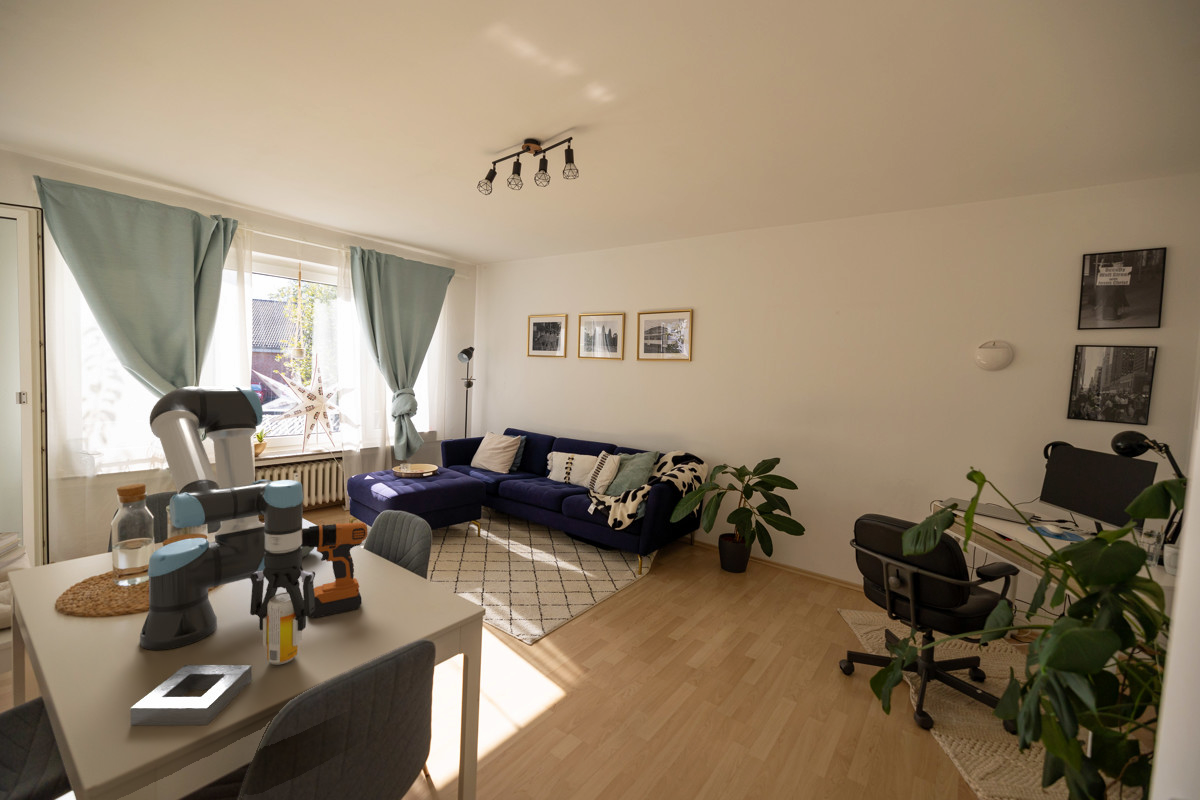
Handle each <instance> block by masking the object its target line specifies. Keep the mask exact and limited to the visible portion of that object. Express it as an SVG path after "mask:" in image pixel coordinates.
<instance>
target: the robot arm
mask: <svg viewBox="0 0 1200 800" xmlns="http://www.w3.org/2000/svg"><path fill="white" fill-rule="evenodd" d="M263 415H264V413H263V406H262V402H261V399H260V397H259V395H258V392H256V390H254V389H253V388H251V387H249V386H236V385H231V386H229V385H228V386H225V385H223V386H184V387H179V388H177V389H174V390H171V391H169V392H168V393H166V394H165V395H163V396H162V397H161V398H159V400H157V402H156V403H155V404H154V406H153V407H152V409H151V412H150V415H149V425H150V426H149V427H150V430H151V432H152V434H153V435H154V436H155V437H157V438H158V439H159V441H160V444H161V446H162V450H163V453H164V456H165V459H166V462H167V465H168V468H169V472H170V474H171V478H172V481H173V483H174V486H175V490H176V494H174V495H172V497H170V499H169V516H170V522H171V524H172V526H173V527H175V528H176V529H177V528H178V529H180V528H181V529H182V528H191V527H200V526H203V525H210V524H215V523H220V528H219V529H218V530H217V531H216V532H215V533H214V541H212V542H209V541H208V539H207V538H205V537H195V538H186V539H181V540H178V541H173V542H171V543H169V544H165V545H163V546H161V547H160V548H158V549H156V550H155V551H154V552H153V553H152V554H151V555H150V557H149V560H148V567H147V568H148V569H147V576H148V605H149V606H148V614H147V615H146V618H145V621H144V623H143V626H142V627H141V631H140V635H139V644H140V646H141V647H142V648H143V649H145V650H151V651H161V650H170V649H176V648H180V647H184V646H187V645H190V644H193V643H196V642H198V641H201V640H202V639H205V638H206V637H208V636H209V635H211V634H213V632H215V630H216V629H217V627H218V619H217V618H218V617H217V614H216V613H215V611H214V608H213V607H212V603H211V601H210V599H209V589H211V588H215V587H219V586H220V587H221V586H223V585H224V586H225V585H227V584H230V583H231V584H233V583H235V582H241V581H243V580H247V579H250V581H251V584H252V585H251V597H250V607H249V608H250V610H249V611H250V612H249V614H250V616H258V619H259V620H258V621H259V626H258V627H259V628H258V629H259V630H260V631H262V646H265V647H266V646H267V606H268V603H269V601H270V599H271V598H272V597H274V595H276V594H277V591H278V589H279V588H283V589H285V592H288V593H289V595H290V599H291V602H292V605H293V608H294V611H295V614H296V617H295V618H294V619H293V646H297V645H299V644H300V642H301V641H303V631H304V629H305V628H306V626H307V617H310V616H309V615H310V614H311V613H312V612H313V611H314V610H315V602H314V588H315V587H314V585H315V584H314V580H315V577H316V572H315V571H309V572H308V571H305V570H304V568H303V567H302V563H303V562H302V561H303V558H302V547H301V546H300V545H301V544H302V528H303V514H304V513H303V504H304V503H303V502H304V492H303V490H304V489H303V484H302V483H301V481H298V480H293V479H280V480H275V481H274V480H270V479H258V480H256V479H255V477H256V476H255V469H254V467H255V466H254V459H253V447H252V436H253V435H254V434H255V433H256V432H257V426H260V425H262V422H263V419H264V418H263ZM200 429H203V430H204V429H205V436H206V437H207V438H209V439H210V440H211V441H213V450H214V452H213V453H214V461H215V473H216V474H215V473H214V470H213V468H212V464H211V461H210V460H209V457H208V454H207V451H206V448H205V447H204V444H203V441H202V438H201V436H200V434H199V431H198V430H200ZM259 516H263V517H264V519H263V520H264V523H263V522H262V521H260V519H259ZM300 578H301V582H302V592H301V589H300V584H301V583H300V581H299V579H300ZM265 579H266V580H267V582H268V583H267V587H266V590H265V591H266V592H265V594H264V587H265V585H264V583H265ZM302 594H303V595H302ZM263 595H264V598H263ZM297 647H298V646H297Z"/></svg>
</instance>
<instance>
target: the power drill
mask: <svg viewBox="0 0 1200 800" xmlns="http://www.w3.org/2000/svg"><path fill="white" fill-rule="evenodd" d="M304 528H305V529H302V544H301V545H300V546H301V547H306V546H309V547H314V548H316V552H317V553H320V554H321V555H322V557H321V558H320V559H321V561H322V562H324V561H326V562H327V563H328V562H331V563H332V571H333V574H334V575H333V576H334V579H335V580H334V581H333V582H328V583H323V584H322V585H319V586H315V587H314V602H315V610H314V611H313V612H312V613H311V614H310V615H309V616H308V617H312V618H314V619H316V618H319V617H325V616H330V615H335V614H339V613H344V612H347V611H348V612H349V611H352V610H357V609H359V608H360V607H361V605H362V595H361V593H360V585H359V582H358V579H357V578H354V576H355V574H354V572H355V568H354V567H355V565H354V560H353V557H352V554H351V549H353V548H355V547H358V546H360V545H361V544H362V543H363V541H365V540H366V539H367V536H368V526H367V524H366V522H363V521H362V522H361V521H360V522H350V523H349V522H348V523H334V524H319V525H312V526H309V527H304Z"/></svg>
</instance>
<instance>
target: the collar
mask: <svg viewBox="0 0 1200 800" xmlns="http://www.w3.org/2000/svg"><path fill="white" fill-rule="evenodd" d="M252 672H253V668H252V665H251V664H250V665H249V664H248V665H247V664H245V665H244V664H242V665H241V664H240V665H239V664H236V665H235V664H226V665H225V664H185V665H183V666H182V667H181V668H180V669H178V670H177V671H176V672H175V673H173V674H172V675H170V677H168V678H167V679H166V680H165V681H163V682H162V683H160V684H159V685H158V686H157V687H155V688H154V689H153V690H152V691H150V692H149V693H148V694H147V695H145V696H144V697H143V698H142V699H140V700H139V701H138V702H136V703H134V705H133V706H131V707H130V726H207V725H209V724H210V723H211V721H212V720H213V719H215V717H217V716H218V715H219V713H220V712H222V711H223V710H224V708H226V707H227V706H228V705H229V703H231V701H233V700H234V698H236V697H237V696H238V694H240V693H241V692H242V691H243V689H245V688H246V687H247V685H249V684H250V683H251V682H252V680H253V679H252V678H253V677H252V676H253V674H252ZM190 690H195V691H196V690H197V691H198V690H199V691H200V690H205V691H206V690H207V691H206V692H205V693H204V694H203V695H202V696H184V695H185V694H186V693H188V692H189V691H190Z"/></svg>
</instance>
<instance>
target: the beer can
mask: <svg viewBox="0 0 1200 800" xmlns="http://www.w3.org/2000/svg"><path fill="white" fill-rule="evenodd" d="M295 617H296V614H295V611H294V608H293V605H292V602H291V599H290V595H289V593H288V592H287V591H285V592H280V593H276V594H275V595H274V597H272V598H271V599H270V601H269V603H268V606H267V645H266V646H267V647H266V650H267V651H266V653H267V654H266V660H267V662H269V663H271V664H272V665H276V666H277V665H283V664H287V663H289V662H291V661H293V659H295V657H296V656H297V655H298V645H299V644H298V645H297V646H293V619H294V618H295Z"/></svg>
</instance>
